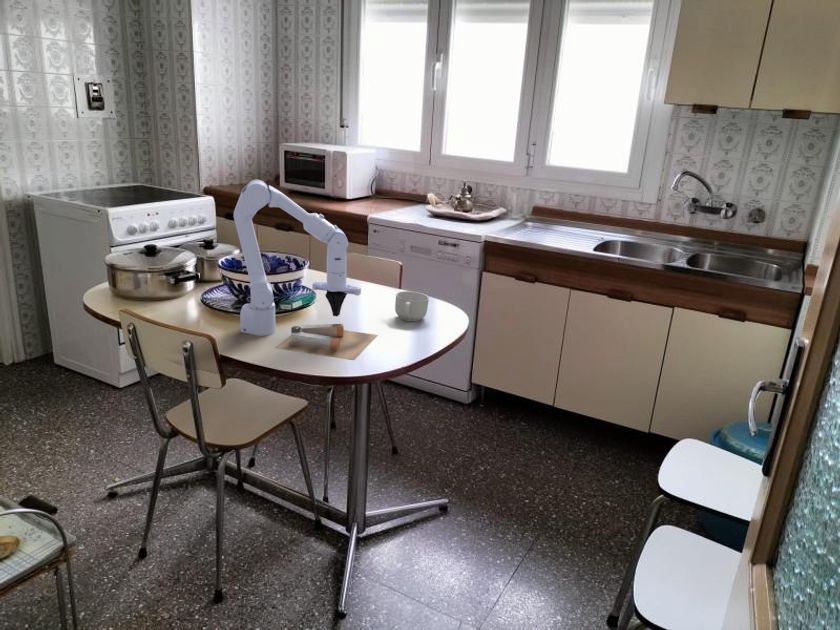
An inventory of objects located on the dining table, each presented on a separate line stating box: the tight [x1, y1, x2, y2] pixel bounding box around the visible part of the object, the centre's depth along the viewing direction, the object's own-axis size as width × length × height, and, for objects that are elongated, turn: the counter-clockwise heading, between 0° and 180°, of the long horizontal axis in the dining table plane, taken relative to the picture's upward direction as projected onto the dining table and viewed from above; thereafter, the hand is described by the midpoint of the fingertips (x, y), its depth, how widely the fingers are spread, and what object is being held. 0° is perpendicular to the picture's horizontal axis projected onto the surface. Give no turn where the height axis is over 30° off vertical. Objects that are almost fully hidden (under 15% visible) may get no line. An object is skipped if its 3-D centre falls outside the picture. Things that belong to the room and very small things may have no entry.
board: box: [275, 329, 379, 361], centre depth 175 cm, size 23×20×1 cm
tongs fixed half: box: [290, 325, 340, 351], centre depth 171 cm, size 15×4×4 cm, turn 75°
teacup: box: [394, 290, 430, 322], centre depth 198 cm, size 14×11×8 cm
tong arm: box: [300, 323, 345, 337], centre depth 177 cm, size 12×2×3 cm, turn 105°
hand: (336, 315), depth 183 cm, fingers closed
